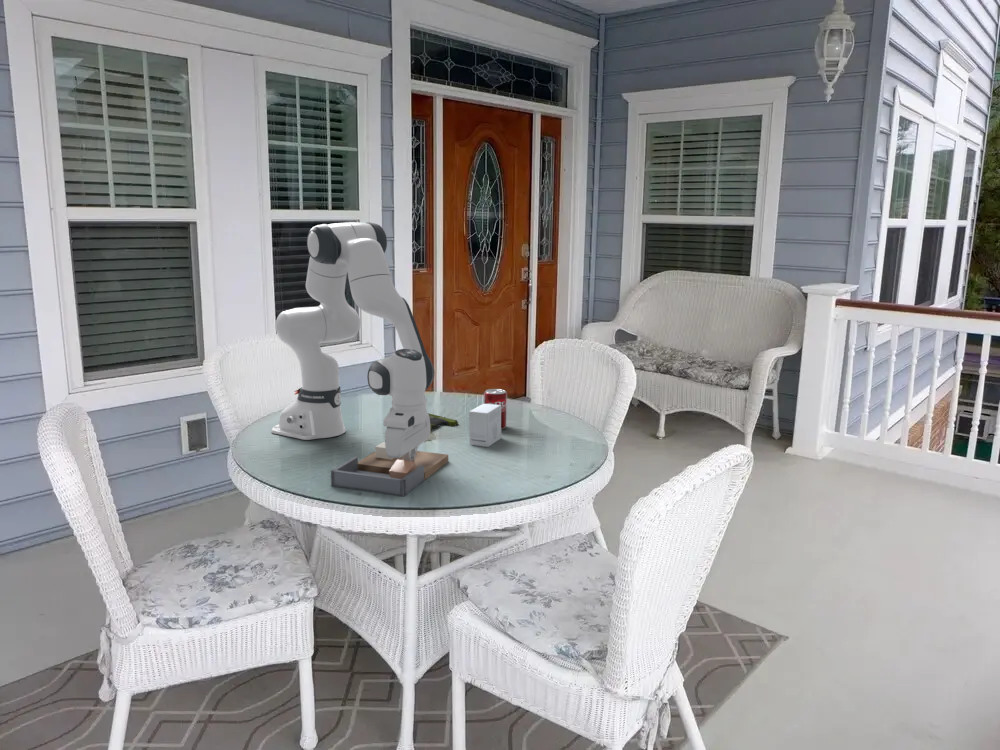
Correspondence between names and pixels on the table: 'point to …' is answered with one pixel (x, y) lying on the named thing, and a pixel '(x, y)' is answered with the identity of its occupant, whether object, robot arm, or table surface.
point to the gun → (440, 421)
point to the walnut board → (421, 458)
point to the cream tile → (381, 451)
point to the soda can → (497, 402)
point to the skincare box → (485, 425)
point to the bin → (374, 479)
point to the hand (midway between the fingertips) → (409, 464)
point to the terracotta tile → (401, 468)
